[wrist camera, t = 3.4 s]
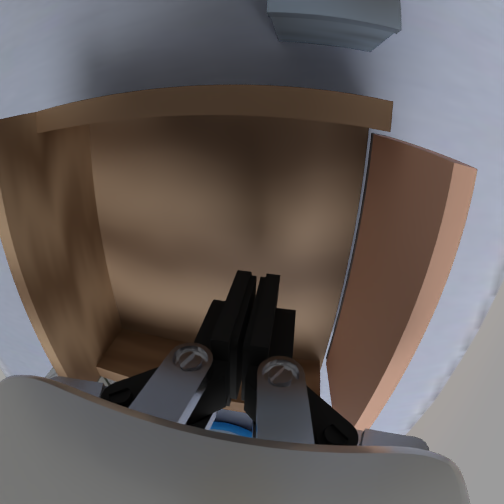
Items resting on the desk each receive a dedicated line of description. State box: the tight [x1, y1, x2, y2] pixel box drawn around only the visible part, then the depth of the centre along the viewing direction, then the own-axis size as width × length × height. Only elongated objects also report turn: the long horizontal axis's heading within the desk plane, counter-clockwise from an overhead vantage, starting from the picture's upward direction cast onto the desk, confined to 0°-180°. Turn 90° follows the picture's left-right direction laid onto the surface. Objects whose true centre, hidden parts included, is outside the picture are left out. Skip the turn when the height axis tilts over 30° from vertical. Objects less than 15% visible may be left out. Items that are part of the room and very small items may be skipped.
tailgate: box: [326, 133, 477, 431], centre depth 12 cm, size 13×1×7 cm, turn 178°
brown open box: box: [0, 85, 393, 413], centre depth 14 cm, size 16×15×8 cm
